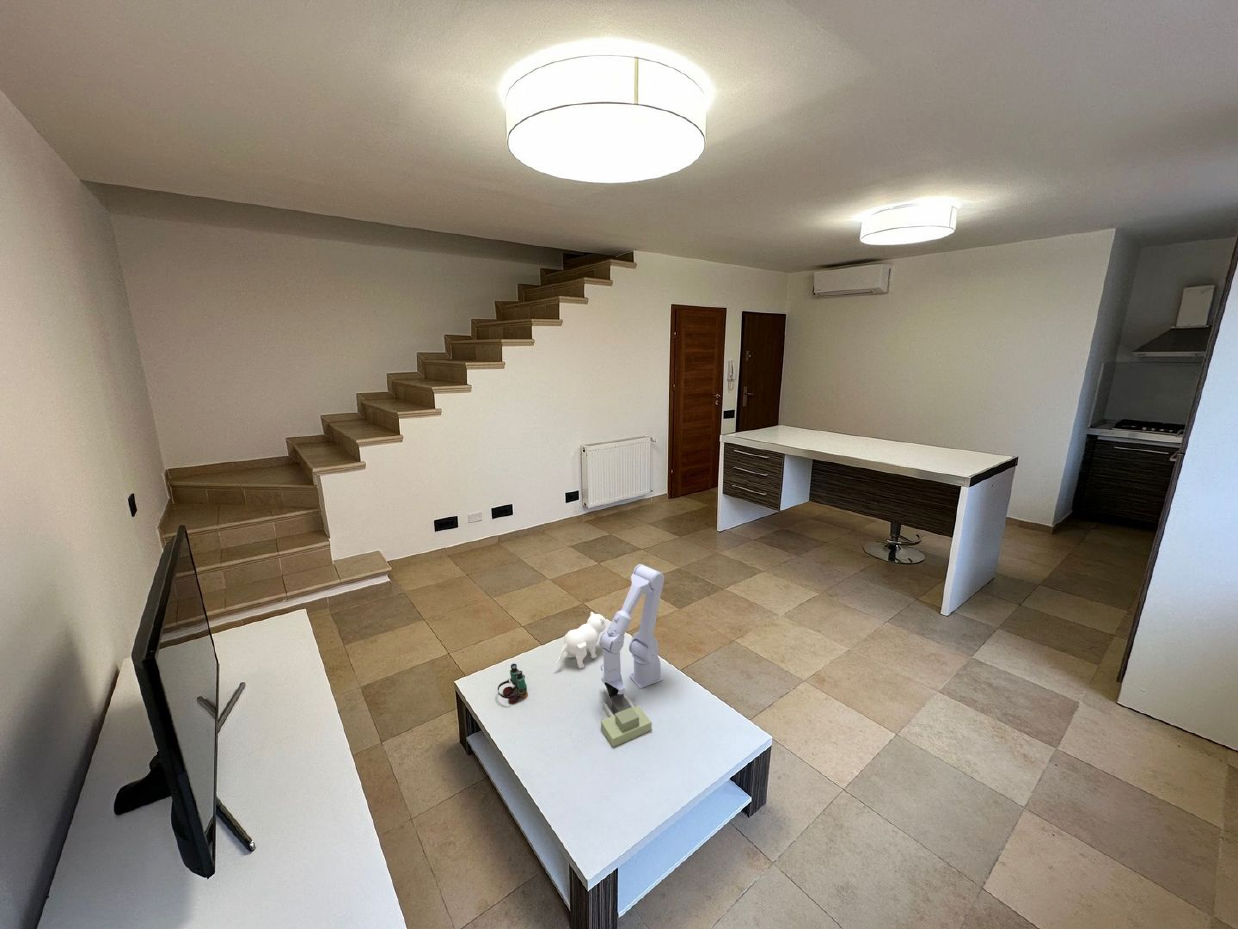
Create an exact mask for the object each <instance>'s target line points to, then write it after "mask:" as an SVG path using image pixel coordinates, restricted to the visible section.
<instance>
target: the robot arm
mask: <svg viewBox="0 0 1238 929" xmlns="http://www.w3.org/2000/svg"><path fill="white" fill-rule="evenodd" d="M665 578H666V577H665V576H664V574H663V573H662V572H661V571H658V570H656V569H653V568H652V567H649V566H647V565H645V564H643V563H640V564H638V565H636V566H635V567H634V569H633V571H632V574H631V576H630V579H631V585H630V588H629V590H628V592H627V595H626V598H625V599H624V602H623V605H622V607H621V609H620V610H617V611H616V612H615V614H614V617H613V618H612V620H611V622H610V623H609V625H608V626H609V627H608V628H607V630H606V631H603V633H601V636H600V637H599V640H598V644H599V646H600V647H601V651H602V652H603V653H602V658H603V663H602V664H601V665H600V670H601V671H602V676H603V677H601V679H600V680H601V682H602V683H603V684H604V686H605V687H606V690H607V694H608V697H609V699H610V700H611V697H613V696H615V695H618V694H620V695H621V694H625V693H626V687H625V686H624V681H623V677H622V672H621V650H622V649H623V647H624V644H625V641H624V640H625V634H626V632H627V630H628V628H629V627H630V624H631V621H632V617H631V614H632V613H633V611H634V609H635V608H636V606H637V604H638V603H639V601H640V600H641V598H642V596H643V595H645V596H644V602H643V607H642V613H641V619H640V623H639V628H638V631H636V632H635V633H633V634H632V638H631V640H630V642H629V645H628V651H629V652H630V653H631V655H632V656H631V657H632V658H633V673H630V674H629V678H631V679H632V681H633V682H634V684H636V686H637V687H638V688H639V689H643V688H646V687H648V686H651V685H653V684H655V683H658V682H661V681H662V680H663V679H662V675H661V669H662V668H661V660H660V657H659V641H658V640H657V638H656V636H655V635H654V633H655V627H656V622H657V616H658V612H659V611H658V610H659V607H660V601H661V597H662V591H663V588H664V582H665Z"/></svg>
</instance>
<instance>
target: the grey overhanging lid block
mask: <svg viewBox="0 0 1238 929" xmlns="http://www.w3.org/2000/svg"><path fill="white" fill-rule="evenodd" d="M624 694H625V693H623V694H621V695H620V694H619V693H618V695H615V696H613V697H611V699H610V710H611V712H612V713H613V715H615V713H618V712H620V711H623V710H625V709H628V708H630V707H631V706H630V704H629V703H628V702H627V700H626V699H625V698H624Z"/></svg>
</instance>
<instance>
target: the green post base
mask: <svg viewBox="0 0 1238 929" xmlns="http://www.w3.org/2000/svg"><path fill="white" fill-rule="evenodd" d="M624 698H625V699H626V700H627V702H628V703H629V704H630V706H631V707H630V708H628V709H625V710H623V711H620V712H618V713H615V714H614V712H613V711H612V710H611V708H610V707H609V706H608V704H607V703H606V702H604V703H602V709H603V710H604V712H605V713H606V714H607V716H608V717H606V718H604V719H601V720H600V729H601V731H602V732H603V734H604V735H605V737H606V738H607V740H608V742H609V743H610V745H611V746H612V748H615V747H617V746H619V745H621V744H624V743H625V742H628V741H631V740H633V739H634V738H637V737H639V736H641V735H643V734H646V733H648V732H650V731H652V729H653V728H652V726H653V724H652V720H650V718H649V717H648V716H647V714H646V713H645V712H644V711H643V710H642V707H640V705H635V704H634V703H633V702H632V701H631V699H630V698H629V697H628V696H627V695H626V694H625V695H624Z"/></svg>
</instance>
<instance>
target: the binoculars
mask: <svg viewBox="0 0 1238 929" xmlns="http://www.w3.org/2000/svg"><path fill="white" fill-rule="evenodd" d="M509 674H510V678H509V679H507V680H505V681H503V682H501V683H500V684H499V685H498V686H497V693H498V695H499V696H500V697H501V698H503V699H507V700H508V702H509V704H515V703H516V702H518V701H519V698H523V699H524V698H527V697H528V695H529V693H528V686H527V682H526V680H525V679H526V676H525V674H523V670H519V669H518V665H517V664H516V663H512V664H511V665H510V670H509ZM506 684H512V685H513V686H506V687H504V688H503V690H502V693H503V694H502V693H500V692H499V690H500V688H501V686H503V685H506ZM514 691H516V693H514Z"/></svg>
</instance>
